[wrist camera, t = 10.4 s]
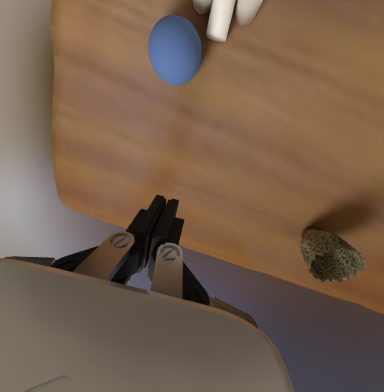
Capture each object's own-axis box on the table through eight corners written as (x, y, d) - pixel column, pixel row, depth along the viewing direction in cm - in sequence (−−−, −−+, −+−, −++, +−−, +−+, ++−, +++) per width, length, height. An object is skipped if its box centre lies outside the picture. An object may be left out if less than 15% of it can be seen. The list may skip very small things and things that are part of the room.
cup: (282, 229, 33) (302, 263, 26) (322, 210, 30) (356, 243, 23) (299, 252, 35) (321, 289, 28) (338, 236, 32) (373, 273, 25)
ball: (170, -14, 14) (174, 72, 16) (213, 18, 18) (211, 84, 20) (134, 19, 18) (141, 84, 20) (176, 39, 22) (178, 92, 24)
